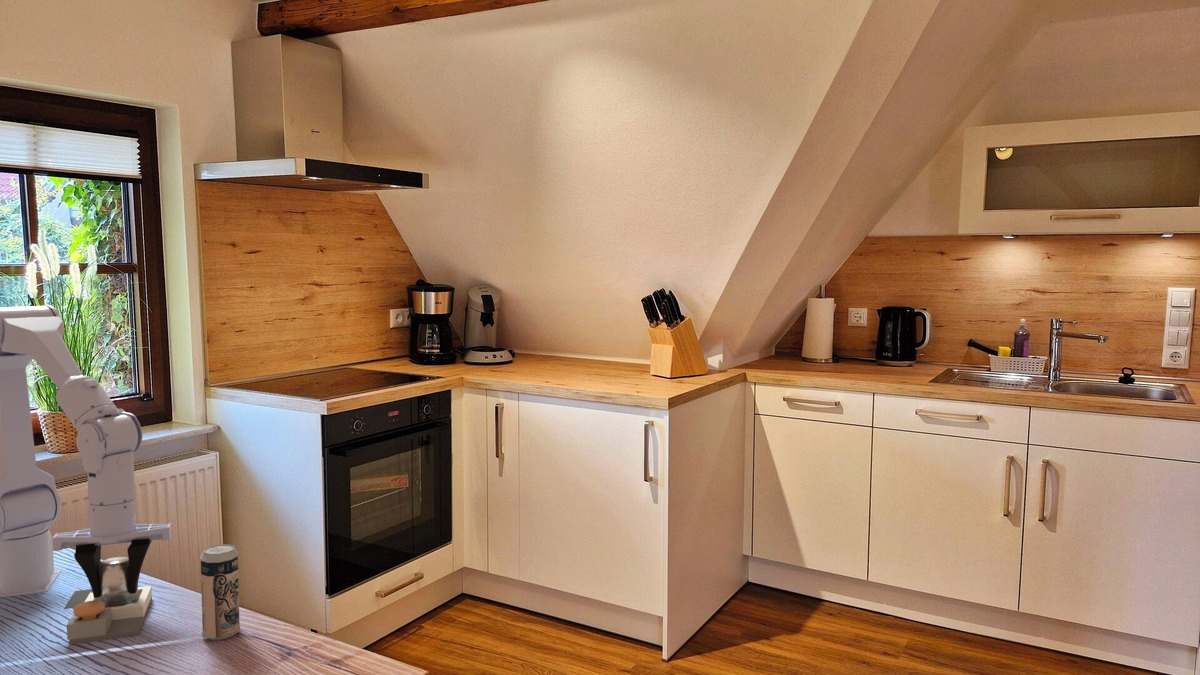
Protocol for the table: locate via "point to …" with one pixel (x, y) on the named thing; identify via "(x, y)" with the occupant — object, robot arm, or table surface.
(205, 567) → the beer can
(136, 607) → the station
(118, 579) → the billet
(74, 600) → the mat
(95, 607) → the button
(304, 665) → the table surface
